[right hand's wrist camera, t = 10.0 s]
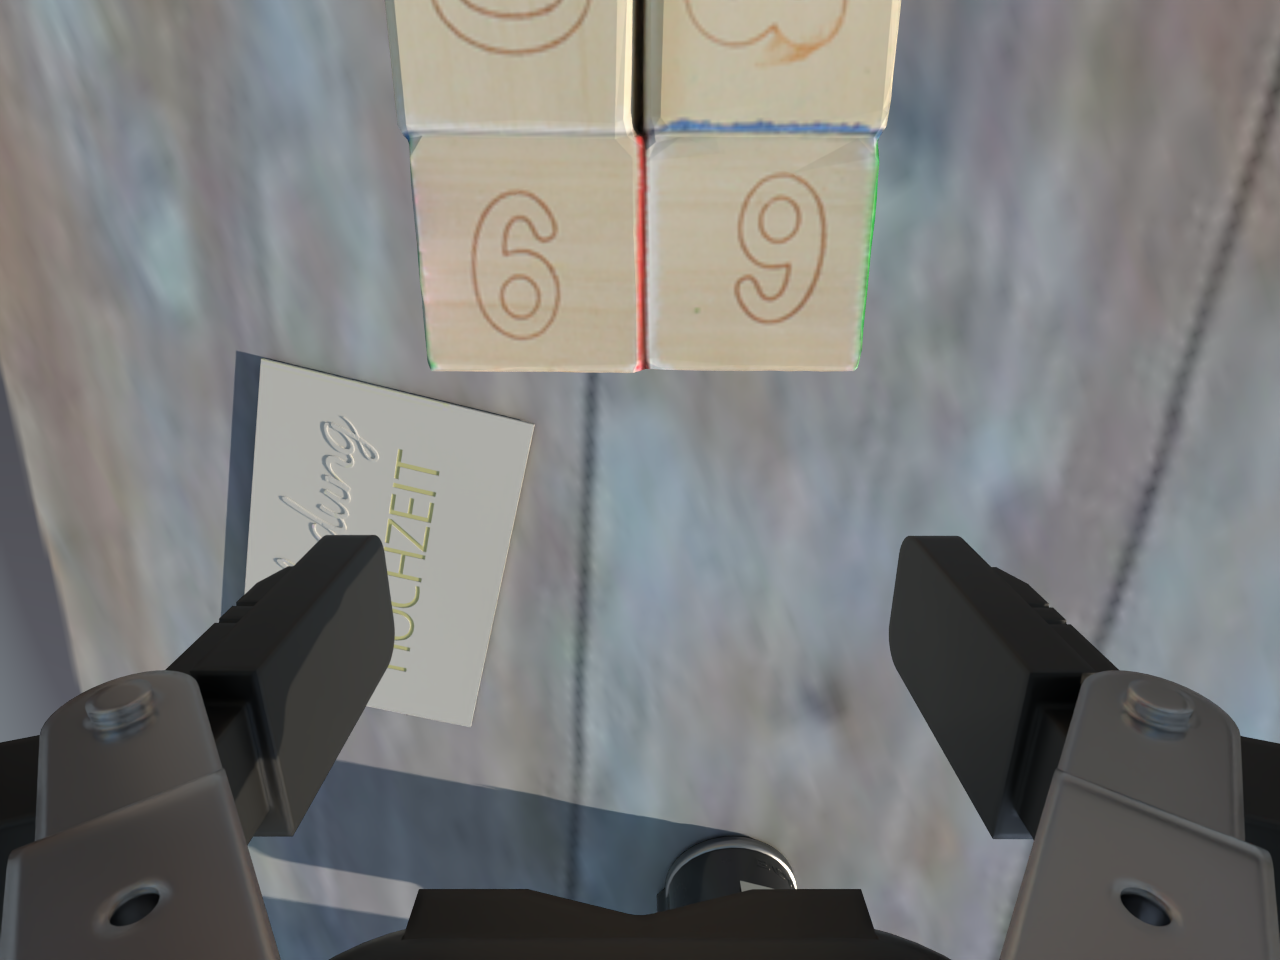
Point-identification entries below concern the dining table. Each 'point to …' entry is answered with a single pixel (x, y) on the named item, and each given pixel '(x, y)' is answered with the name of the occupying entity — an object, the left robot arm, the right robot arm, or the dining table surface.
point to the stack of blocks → (643, 179)
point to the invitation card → (394, 515)
